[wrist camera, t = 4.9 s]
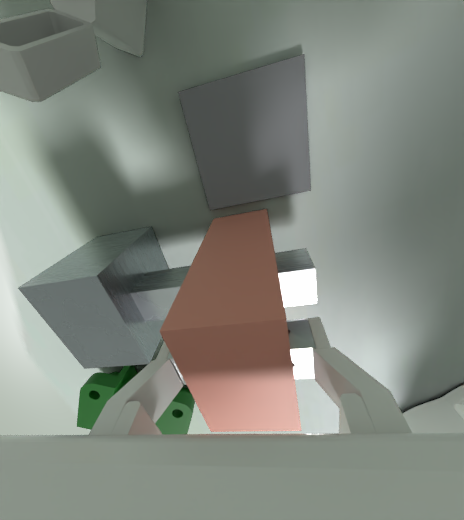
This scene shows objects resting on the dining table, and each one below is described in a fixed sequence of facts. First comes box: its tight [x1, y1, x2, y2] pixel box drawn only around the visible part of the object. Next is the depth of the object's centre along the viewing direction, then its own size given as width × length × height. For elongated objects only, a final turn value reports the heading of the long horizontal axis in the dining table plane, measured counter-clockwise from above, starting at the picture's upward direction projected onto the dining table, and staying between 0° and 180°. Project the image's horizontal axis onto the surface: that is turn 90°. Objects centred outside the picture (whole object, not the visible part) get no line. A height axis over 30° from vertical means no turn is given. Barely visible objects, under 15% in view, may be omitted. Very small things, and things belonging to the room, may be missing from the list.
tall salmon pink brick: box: [159, 209, 301, 432], centre depth 13 cm, size 4×6×11 cm, turn 12°
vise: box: [18, 227, 317, 369], centre depth 15 cm, size 16×7×7 cm, turn 102°
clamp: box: [77, 365, 195, 435], centre depth 25 cm, size 12×6×9 cm, turn 70°
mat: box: [178, 54, 311, 210], centre depth 14 cm, size 7×7×1 cm
